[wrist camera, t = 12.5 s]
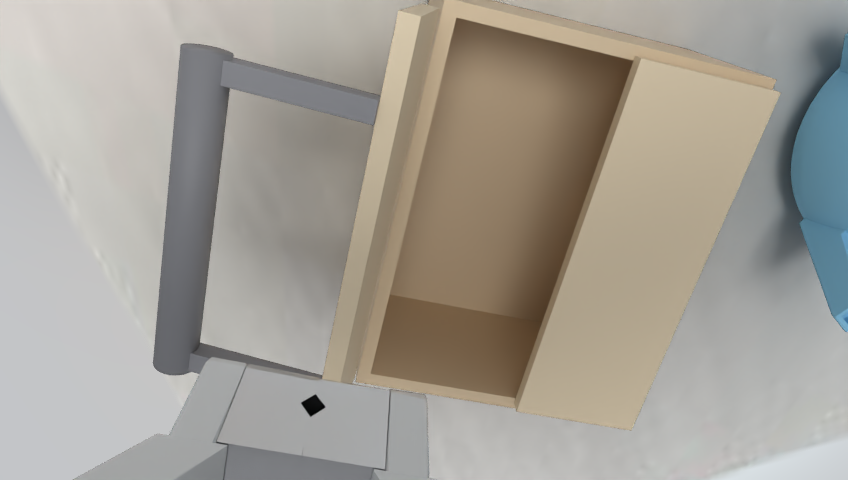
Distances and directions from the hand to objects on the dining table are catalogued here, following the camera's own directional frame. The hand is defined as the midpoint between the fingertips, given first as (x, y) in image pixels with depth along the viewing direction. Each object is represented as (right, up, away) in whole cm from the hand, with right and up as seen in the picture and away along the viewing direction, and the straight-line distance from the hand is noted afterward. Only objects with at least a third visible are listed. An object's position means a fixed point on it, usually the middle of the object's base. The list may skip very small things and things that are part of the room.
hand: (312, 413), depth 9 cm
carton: (+7, +6, +29) cm, 30 cm away
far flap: (0, +2, +16) cm, 16 cm away
